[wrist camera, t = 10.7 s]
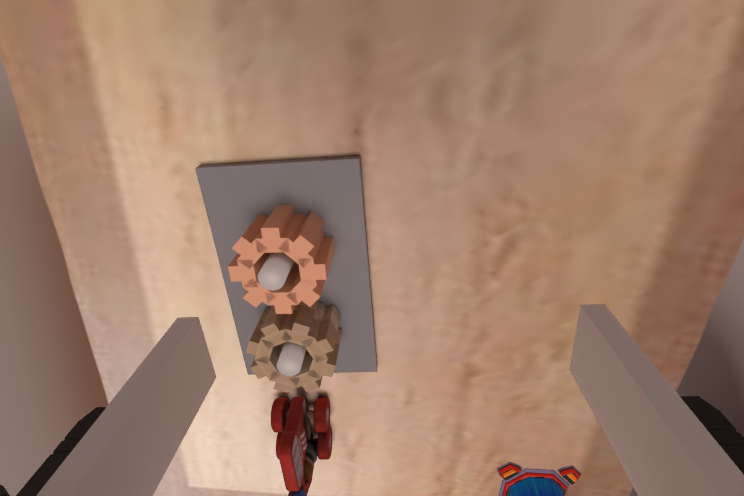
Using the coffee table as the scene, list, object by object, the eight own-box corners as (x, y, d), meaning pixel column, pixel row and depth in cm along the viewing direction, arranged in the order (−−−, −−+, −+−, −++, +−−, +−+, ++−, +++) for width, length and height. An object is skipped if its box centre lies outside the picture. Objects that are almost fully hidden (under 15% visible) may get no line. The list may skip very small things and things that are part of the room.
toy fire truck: (286, 449, 60) (266, 524, 50) (274, 382, 54) (250, 452, 45) (335, 450, 59) (324, 526, 50) (328, 382, 54) (314, 453, 44)
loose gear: (241, 205, 42) (219, 229, 37) (330, 203, 42) (320, 226, 36) (256, 283, 46) (238, 314, 41) (337, 281, 46) (330, 313, 40)
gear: (248, 307, 47) (229, 341, 42) (317, 278, 45) (306, 310, 40) (289, 364, 51) (277, 402, 45) (355, 339, 49) (350, 376, 43)
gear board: (200, 165, 42) (156, 191, 34) (359, 155, 41) (352, 181, 33) (251, 367, 53) (226, 422, 45) (377, 364, 52) (374, 420, 44)
